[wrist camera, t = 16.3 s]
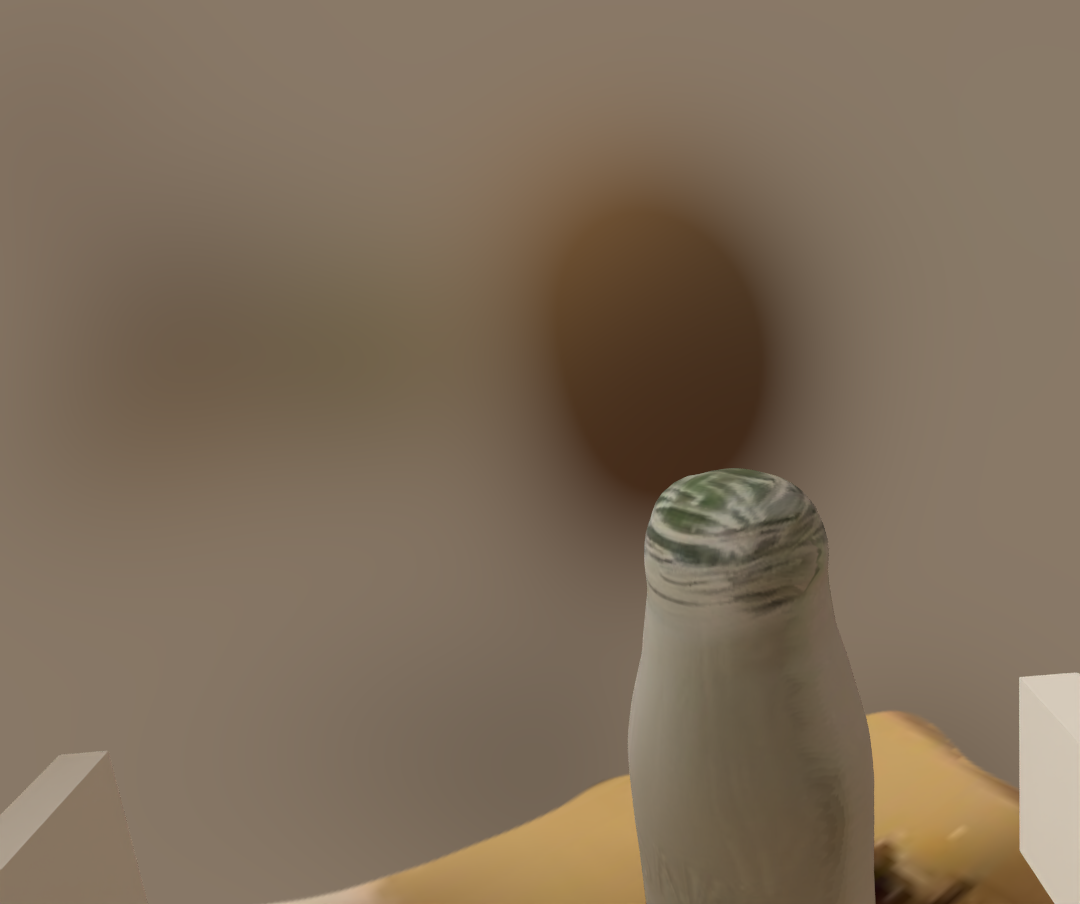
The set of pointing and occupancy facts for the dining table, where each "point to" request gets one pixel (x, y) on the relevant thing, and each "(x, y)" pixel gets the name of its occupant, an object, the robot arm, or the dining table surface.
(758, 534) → the glass bottle
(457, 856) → the dining table surface
